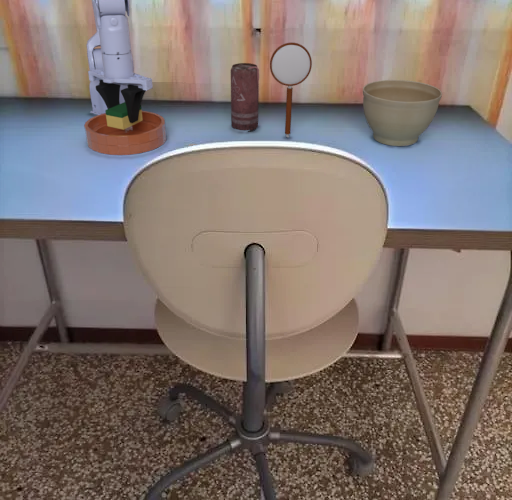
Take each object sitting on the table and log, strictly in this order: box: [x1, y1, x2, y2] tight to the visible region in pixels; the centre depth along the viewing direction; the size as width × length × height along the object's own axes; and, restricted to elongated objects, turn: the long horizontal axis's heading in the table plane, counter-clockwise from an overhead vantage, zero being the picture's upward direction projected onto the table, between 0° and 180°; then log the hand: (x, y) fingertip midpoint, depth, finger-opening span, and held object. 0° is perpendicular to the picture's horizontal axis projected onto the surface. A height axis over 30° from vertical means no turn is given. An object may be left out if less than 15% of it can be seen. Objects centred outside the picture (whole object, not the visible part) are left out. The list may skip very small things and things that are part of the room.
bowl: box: [83, 110, 167, 156], centre depth 114 cm, size 16×16×4 cm
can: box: [230, 62, 260, 133], centre depth 120 cm, size 6×6×14 cm
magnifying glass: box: [269, 42, 313, 139], centre depth 114 cm, size 9×2×20 cm, turn 92°
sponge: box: [105, 102, 143, 130], centre depth 112 cm, size 6×4×3 cm, turn 153°
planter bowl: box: [362, 79, 443, 147], centre depth 116 cm, size 16×16×11 cm
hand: (124, 119), depth 113 cm, fingers closed on sponge, 4 cm apart
